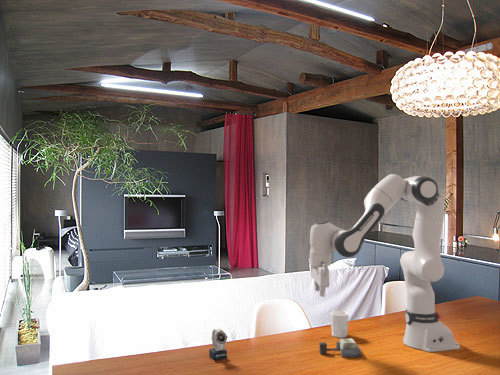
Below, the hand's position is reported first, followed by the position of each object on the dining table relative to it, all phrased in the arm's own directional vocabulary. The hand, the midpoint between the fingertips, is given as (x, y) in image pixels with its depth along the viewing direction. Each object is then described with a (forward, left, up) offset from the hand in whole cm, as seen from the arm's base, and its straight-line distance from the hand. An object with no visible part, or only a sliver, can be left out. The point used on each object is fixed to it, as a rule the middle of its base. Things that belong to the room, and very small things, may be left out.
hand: (319, 293), depth 180 cm
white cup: (-12, -15, -23) cm, 30 cm away
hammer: (-6, +6, -23) cm, 24 cm away
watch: (+42, +9, -23) cm, 48 cm away
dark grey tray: (-10, +6, -23) cm, 25 cm away
